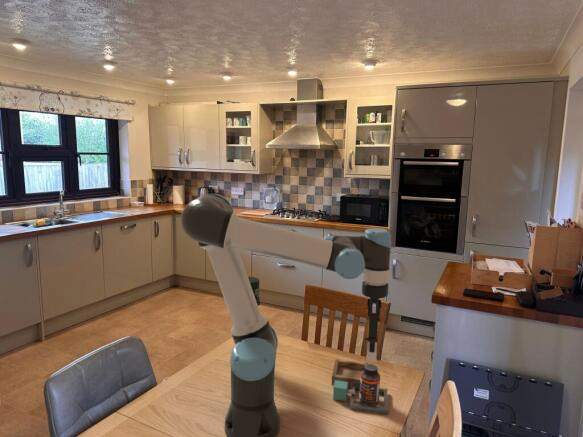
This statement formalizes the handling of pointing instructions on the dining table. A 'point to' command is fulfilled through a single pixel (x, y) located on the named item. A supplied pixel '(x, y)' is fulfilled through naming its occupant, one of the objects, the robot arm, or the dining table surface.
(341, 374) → the open box
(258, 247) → the robot arm
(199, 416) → the dining table surface
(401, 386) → the dining table surface
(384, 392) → the socket collar
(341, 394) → the pin
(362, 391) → the supplement bottle
